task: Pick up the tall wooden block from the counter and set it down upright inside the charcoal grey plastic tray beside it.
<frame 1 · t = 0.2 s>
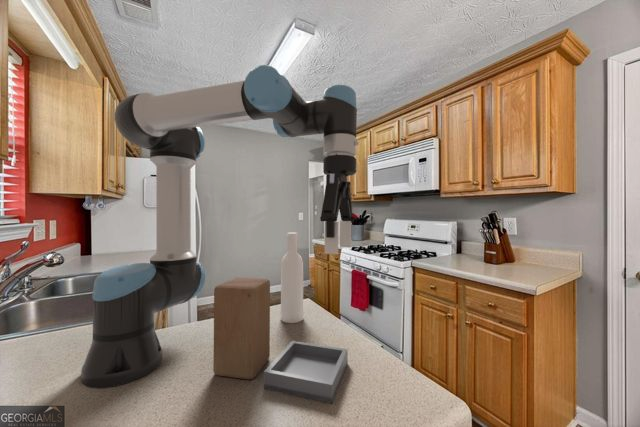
hand: (339, 250, 61), 28 cm above the countertop, tool pointing down, fingers open, 13 cm apart
bottle: (292, 319, 93), on the countertop
wooden block: (243, 367, 63), on the countertop
tray: (309, 375, 59), on the countertop
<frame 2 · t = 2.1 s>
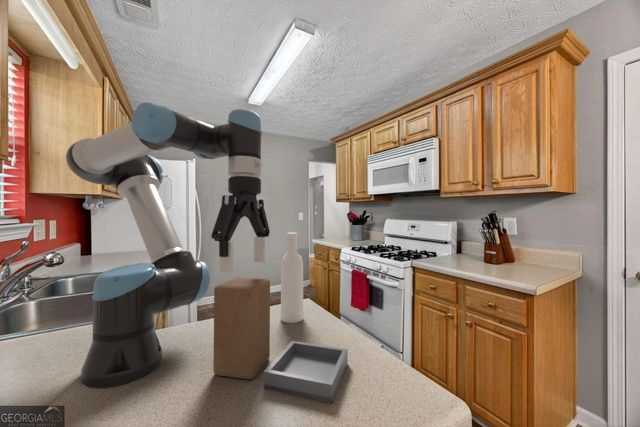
hand: (244, 266, 63), 24 cm above the countertop, tool pointing down, fingers open, 13 cm apart
nothing on the countertop moved.
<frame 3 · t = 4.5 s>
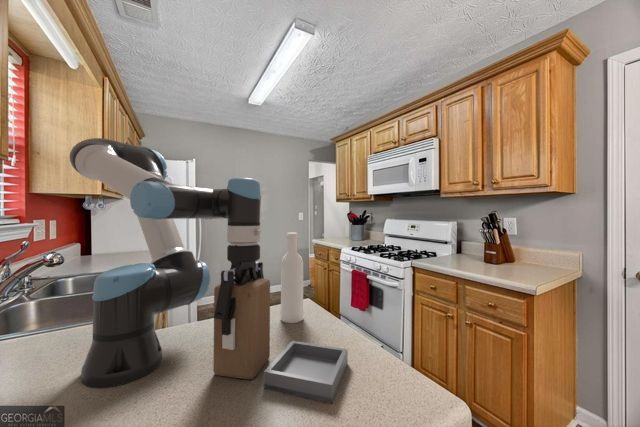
hand: (243, 337, 63), 7 cm above the countertop, tool pointing down, fingers closed on wooden block, 10 cm apart
wooden block: (243, 367, 63), on the countertop, touching gripper
everything else where it was.
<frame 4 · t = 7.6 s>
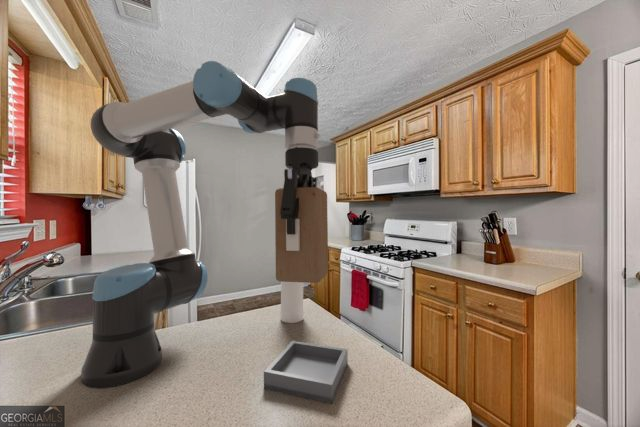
hand: (302, 247, 60), 28 cm above the countertop, tool pointing down, fingers closed on wooden block, 10 cm apart
wooden block: (303, 279, 60), point 21 cm above the countertop, touching gripper
everything else where it was.
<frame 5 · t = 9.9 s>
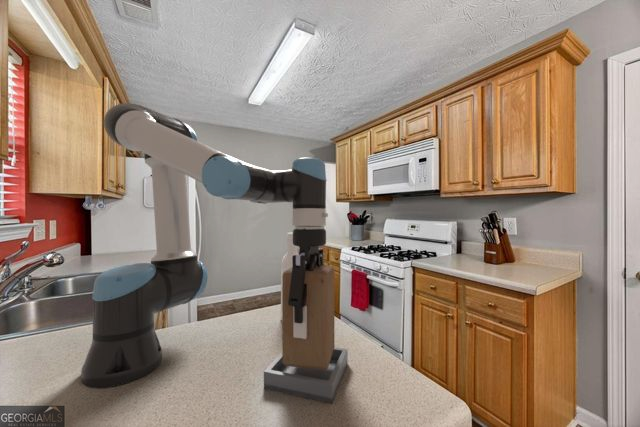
hand: (309, 326, 60), 11 cm above the countertop, tool pointing down, fingers closed on wooden block, 10 cm apart
wooden block: (309, 358, 59), point 4 cm above the countertop, touching gripper
everything else where it was.
when the fingers open (9 cm above the countertop, at t = 11.1 s): wooden block drops 1 cm, resting on tray.
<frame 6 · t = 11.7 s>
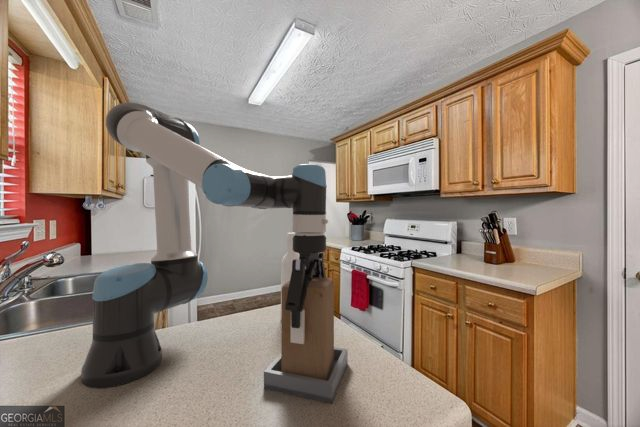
hand: (309, 329, 60), 10 cm above the countertop, tool pointing down, fingers open, 13 cm apart
wooden block: (308, 371, 59), point 1 cm above the countertop, touching tray
everything else where it was.
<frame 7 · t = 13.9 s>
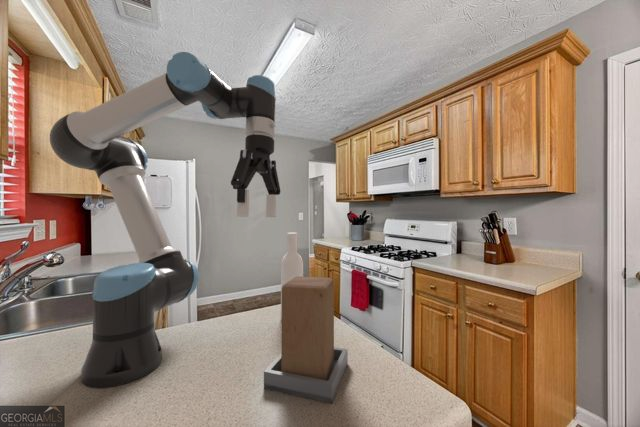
hand: (258, 217, 71), 35 cm above the countertop, tool pointing down, fingers open, 13 cm apart
nothing on the countertop moved.
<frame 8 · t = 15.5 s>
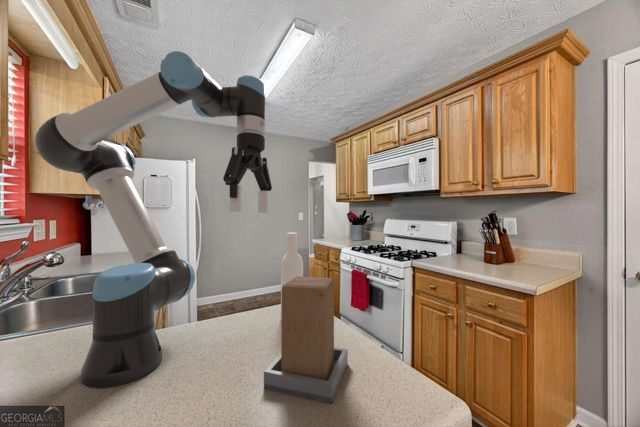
hand: (250, 212, 73), 37 cm above the countertop, tool pointing down, fingers open, 13 cm apart
nothing on the countertop moved.
at the end: wooden block 0.0 cm off-centre on the tray, point 0.8 cm above the tray's base; wooden block tilted 0°; the gripper is holding nothing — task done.
